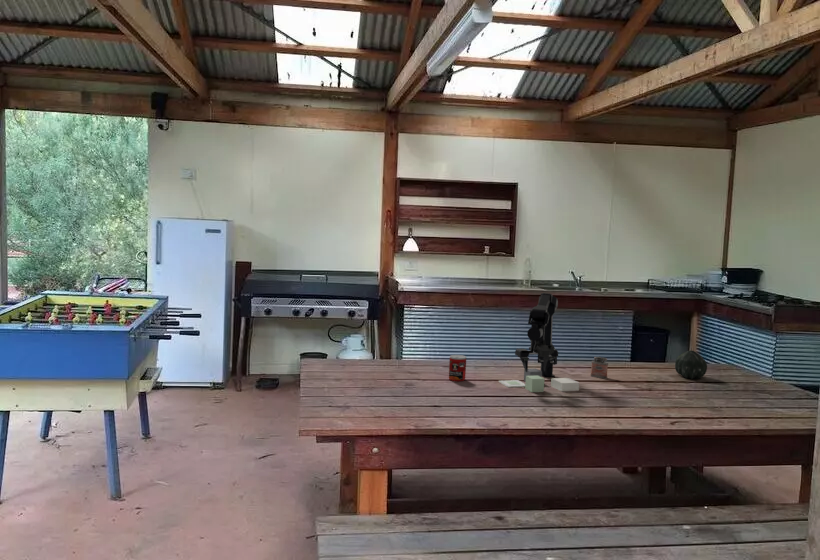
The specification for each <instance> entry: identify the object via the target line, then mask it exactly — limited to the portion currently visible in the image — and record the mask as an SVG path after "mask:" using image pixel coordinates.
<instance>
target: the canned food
mask: <svg viewBox="0 0 820 560" xmlns="http://www.w3.org/2000/svg"><path fill="white" fill-rule="evenodd" d="M448 363H449V364H448V380H449V381H452V382H464V381H465V380H466V373H467V371H466V370H467V356H466V355H462V354H451V355H449V361H448Z"/></svg>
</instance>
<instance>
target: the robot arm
mask: <svg viewBox="0 0 820 560" xmlns="http://www.w3.org/2000/svg"><path fill="white" fill-rule="evenodd" d="M558 304H559V300H558V298H557V297H556V296H554V295H553V294H552V293H550V292H548V293H547V292H543V293H540V296H538V304H537V305H535V306H534V307H532V309H531V310H530V312H529V317H528V322H527V325H531V326H530V328H529V329H528V330H527V332H526V333H527V337H528V339H529V341H530V347H528V349H529V350H527V349H525V348H516V349H515V351H514V355H515V356H517V357H518V358H519V359H520V361H521V363H522V366H523V369H525V372H527V370H528V369H529V360H530V357H529V356H530V355H531V356H533V355H535V356H536V355H537V364H540V369H539V370H540V371H542V378H548V377H549V378H551V377H552V378H554V377H555V378H556V374H553V371H554V366H555V365H558V357H559V351H558V349H557V348H556V347H555V345H553V320H554V319H553V317H554V315H555V312H556V310H557V308H558V306H559V305H558ZM555 348H556V349H555Z"/></svg>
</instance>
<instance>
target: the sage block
mask: <svg viewBox="0 0 820 560" xmlns="http://www.w3.org/2000/svg"><path fill="white" fill-rule="evenodd" d="M524 384H525V387H524V389H525V390H527V391H528V392H530V393H543V392H545V377H543V376H542V377H540V376H538V375H536V376H526V382H525V383H524Z"/></svg>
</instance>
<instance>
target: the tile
mask: <svg viewBox="0 0 820 560" xmlns="http://www.w3.org/2000/svg"><path fill="white" fill-rule="evenodd" d="M498 383H499V384H501V385H503V386H505V387H506V388H525V384H526V383H524V381H521V380H518V379H512V380H511V379H510V380H505V379H504V380H498Z"/></svg>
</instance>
